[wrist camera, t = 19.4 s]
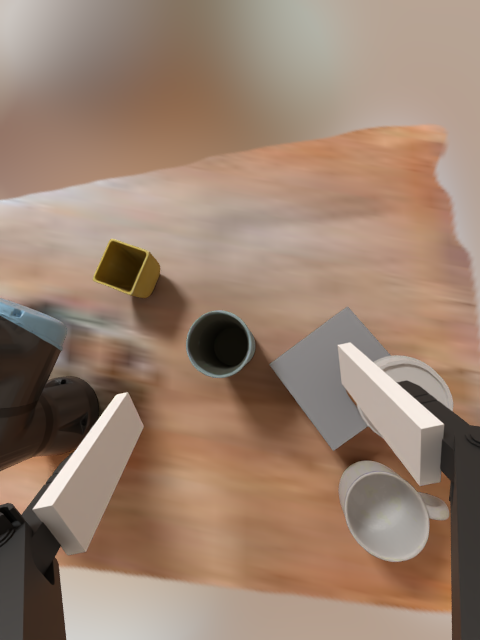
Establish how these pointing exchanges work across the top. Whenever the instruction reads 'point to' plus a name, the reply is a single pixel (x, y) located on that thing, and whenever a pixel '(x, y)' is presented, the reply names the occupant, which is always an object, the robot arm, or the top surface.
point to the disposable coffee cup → (412, 380)
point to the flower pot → (128, 269)
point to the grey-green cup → (219, 344)
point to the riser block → (327, 375)
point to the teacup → (387, 511)
